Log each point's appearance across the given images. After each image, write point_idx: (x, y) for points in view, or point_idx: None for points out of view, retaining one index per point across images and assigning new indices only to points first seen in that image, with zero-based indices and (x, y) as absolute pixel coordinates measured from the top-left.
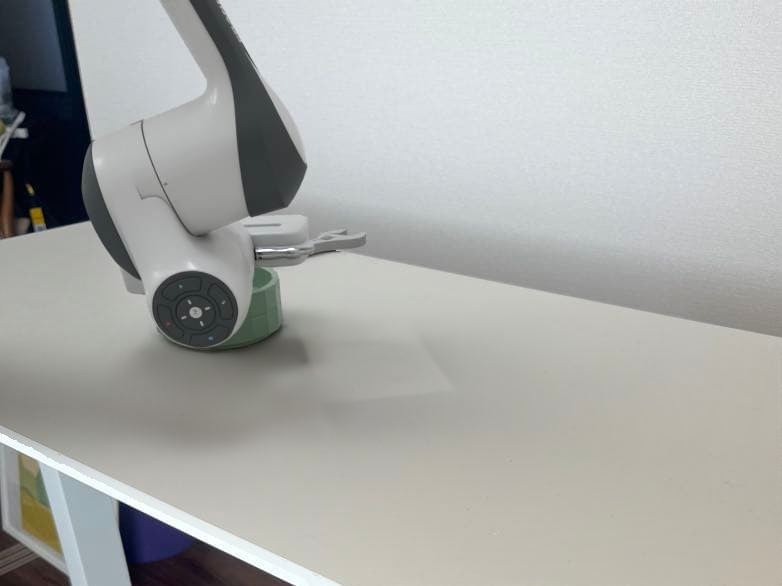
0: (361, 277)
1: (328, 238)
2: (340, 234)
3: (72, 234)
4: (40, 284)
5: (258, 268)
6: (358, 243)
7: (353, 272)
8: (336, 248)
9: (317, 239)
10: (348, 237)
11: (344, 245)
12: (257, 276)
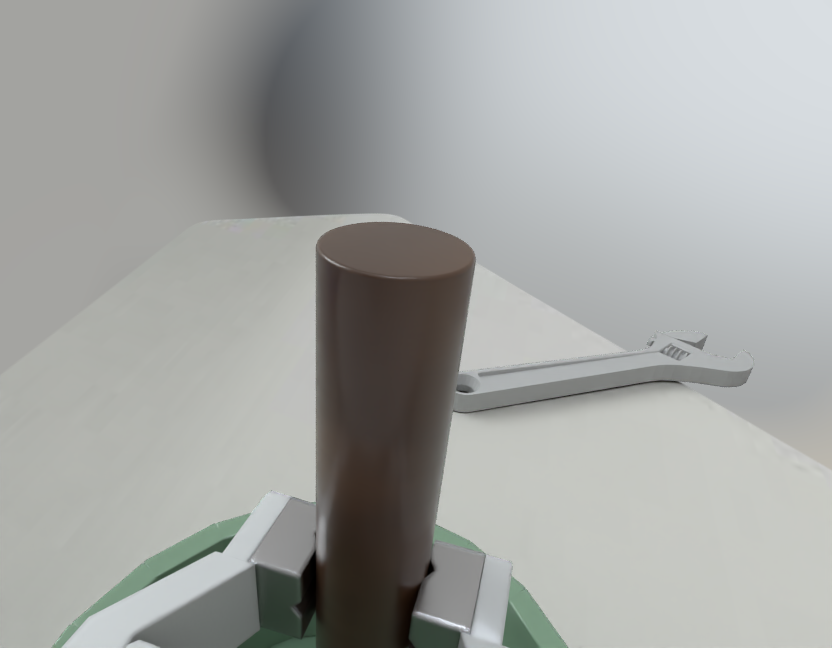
0: (787, 535)
1: (675, 353)
2: (696, 345)
3: (279, 230)
4: (115, 334)
5: (528, 636)
6: (738, 380)
7: (754, 496)
8: (689, 379)
9: (653, 351)
10: (720, 363)
11: (708, 378)
12: (515, 645)
